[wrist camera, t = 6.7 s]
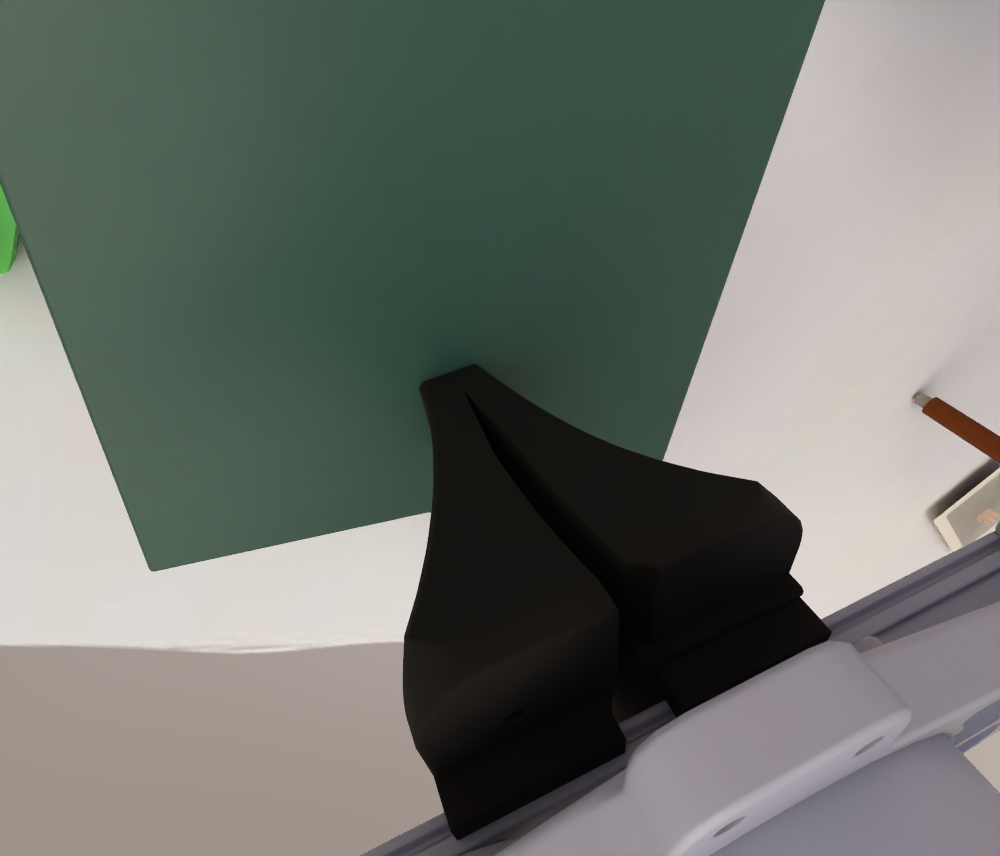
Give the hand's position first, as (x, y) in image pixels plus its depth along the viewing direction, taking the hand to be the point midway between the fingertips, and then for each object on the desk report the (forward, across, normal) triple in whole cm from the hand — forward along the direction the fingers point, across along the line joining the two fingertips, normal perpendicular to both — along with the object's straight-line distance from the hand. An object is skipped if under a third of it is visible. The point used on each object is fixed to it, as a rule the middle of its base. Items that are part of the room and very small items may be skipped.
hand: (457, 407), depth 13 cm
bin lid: (+1, -1, -3) cm, 3 cm away
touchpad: (+8, -47, +40) cm, 62 cm away
